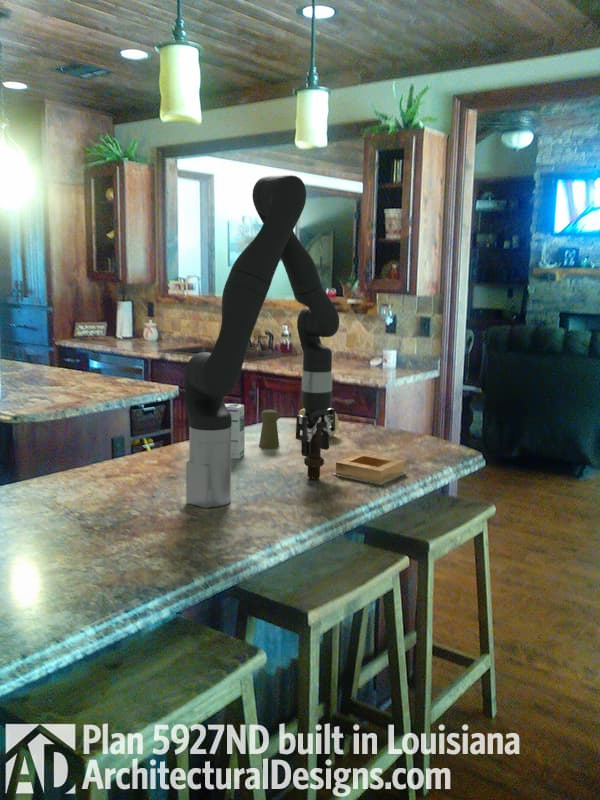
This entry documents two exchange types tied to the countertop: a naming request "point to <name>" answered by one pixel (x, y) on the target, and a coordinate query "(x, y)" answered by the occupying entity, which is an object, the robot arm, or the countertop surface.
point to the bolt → (315, 453)
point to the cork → (269, 430)
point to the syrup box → (237, 430)
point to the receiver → (370, 468)
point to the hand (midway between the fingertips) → (315, 452)
